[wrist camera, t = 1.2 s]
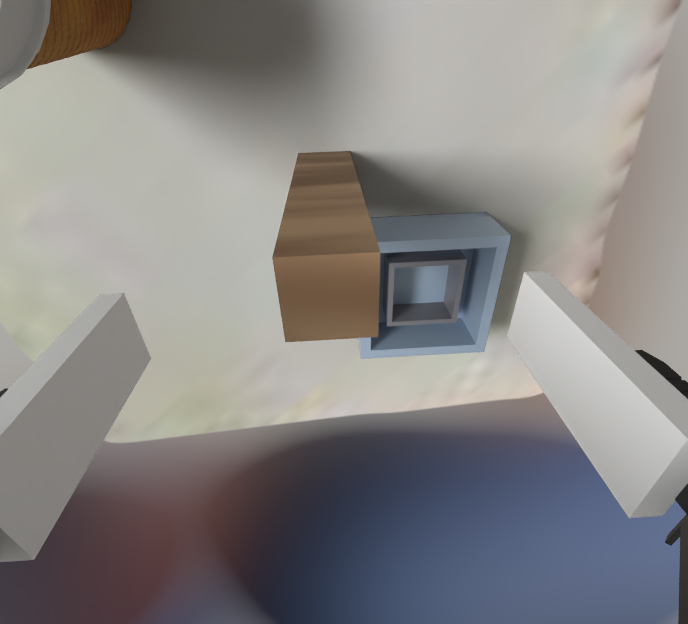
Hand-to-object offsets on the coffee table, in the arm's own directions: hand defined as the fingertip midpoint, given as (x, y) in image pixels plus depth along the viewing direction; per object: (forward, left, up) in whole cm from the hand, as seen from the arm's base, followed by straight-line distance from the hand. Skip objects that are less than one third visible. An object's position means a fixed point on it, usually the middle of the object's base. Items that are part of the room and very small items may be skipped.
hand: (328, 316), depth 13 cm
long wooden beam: (0, 0, -17) cm, 17 cm away
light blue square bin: (+8, +7, -17) cm, 20 cm away
